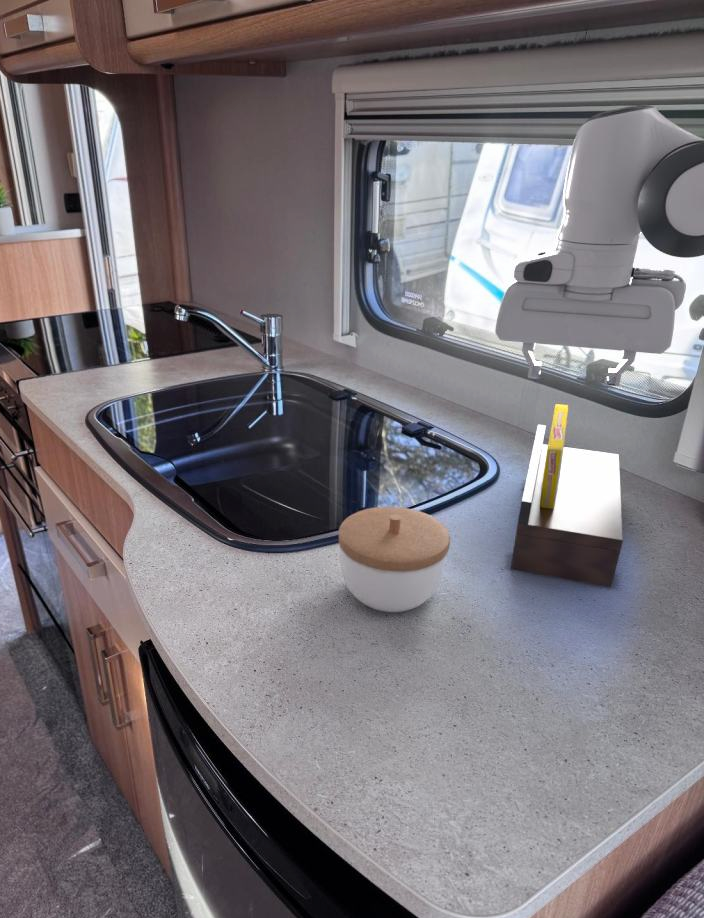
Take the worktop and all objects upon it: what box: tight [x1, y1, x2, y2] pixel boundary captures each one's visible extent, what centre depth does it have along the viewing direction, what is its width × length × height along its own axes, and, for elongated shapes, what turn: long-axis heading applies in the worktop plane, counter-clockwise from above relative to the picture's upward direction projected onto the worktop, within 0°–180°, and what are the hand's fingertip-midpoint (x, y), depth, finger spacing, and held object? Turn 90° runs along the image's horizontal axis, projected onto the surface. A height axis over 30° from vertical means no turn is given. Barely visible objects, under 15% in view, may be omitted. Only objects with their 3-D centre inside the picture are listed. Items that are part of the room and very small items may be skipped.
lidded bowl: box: [338, 506, 451, 613], centre depth 84 cm, size 13×13×11 cm
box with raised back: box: [509, 424, 624, 588], centre depth 98 cm, size 12×26×10 cm, turn 161°
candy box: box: [540, 403, 569, 509], centre depth 95 cm, size 16×2×8 cm, turn 161°
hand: (572, 380), depth 91 cm, fingers open, 8 cm apart
